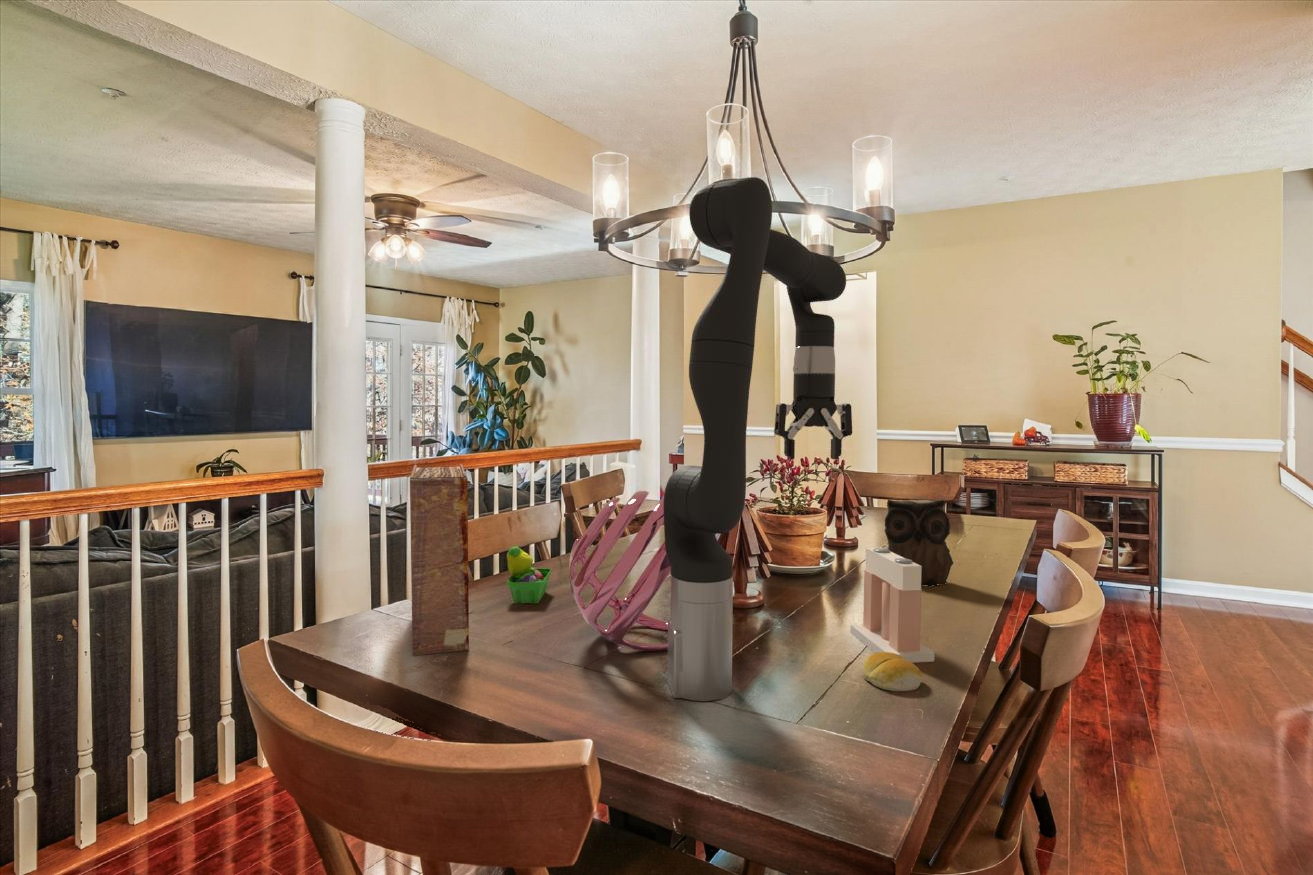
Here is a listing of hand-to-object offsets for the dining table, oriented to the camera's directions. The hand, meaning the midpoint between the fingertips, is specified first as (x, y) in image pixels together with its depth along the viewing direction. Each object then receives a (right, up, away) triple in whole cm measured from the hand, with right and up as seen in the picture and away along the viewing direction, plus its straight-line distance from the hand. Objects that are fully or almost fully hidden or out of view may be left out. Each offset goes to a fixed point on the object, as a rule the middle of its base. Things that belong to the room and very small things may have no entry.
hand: (812, 459), depth 128 cm
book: (-70, -32, 0) cm, 77 cm away
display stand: (+12, -33, -8) cm, 36 cm away
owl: (+33, -30, +37) cm, 58 cm away
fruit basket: (-57, -31, +21) cm, 69 cm away
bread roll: (+7, -34, -22) cm, 41 cm away
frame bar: (+12, -21, -9) cm, 25 cm away
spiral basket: (-33, -33, -4) cm, 46 cm away
